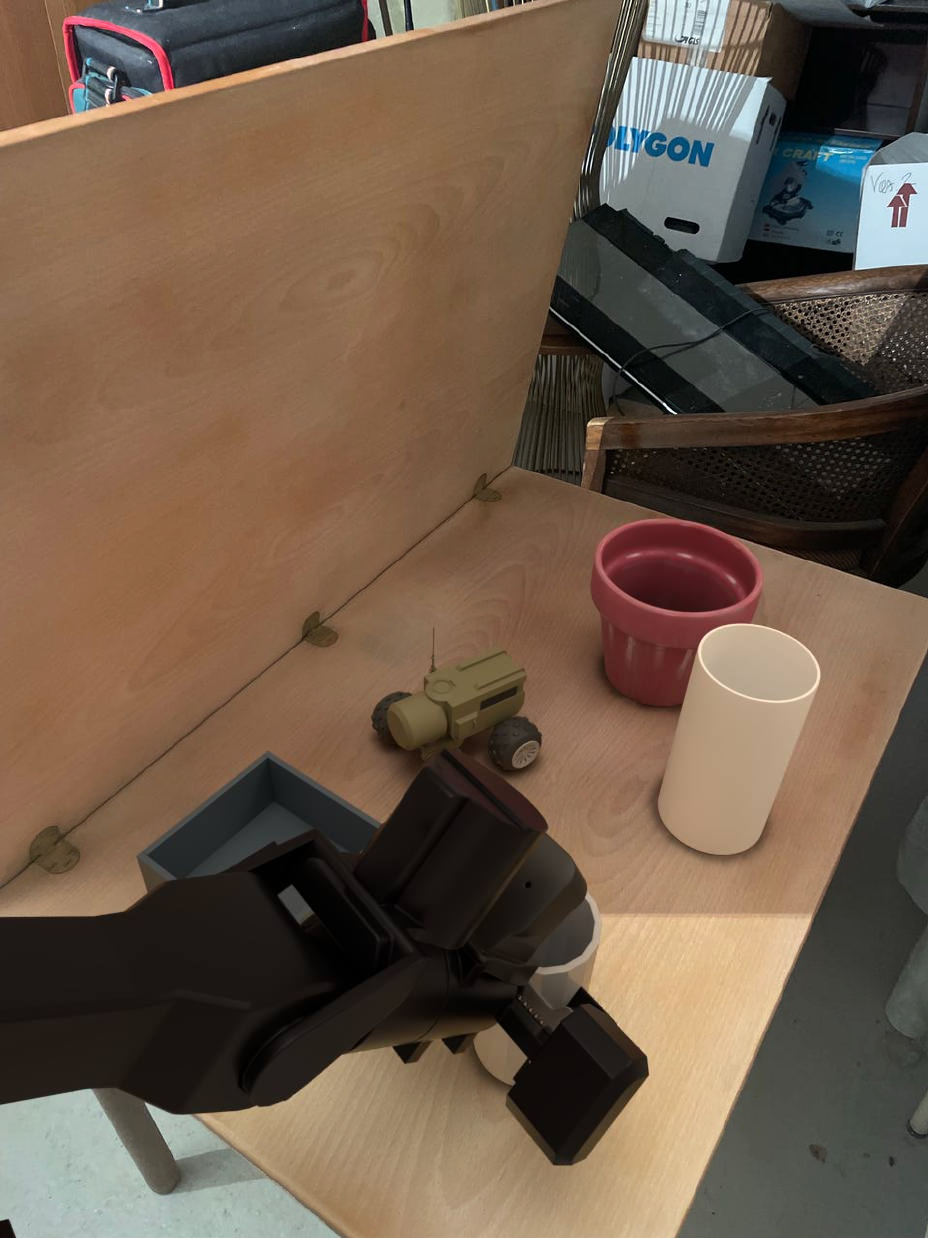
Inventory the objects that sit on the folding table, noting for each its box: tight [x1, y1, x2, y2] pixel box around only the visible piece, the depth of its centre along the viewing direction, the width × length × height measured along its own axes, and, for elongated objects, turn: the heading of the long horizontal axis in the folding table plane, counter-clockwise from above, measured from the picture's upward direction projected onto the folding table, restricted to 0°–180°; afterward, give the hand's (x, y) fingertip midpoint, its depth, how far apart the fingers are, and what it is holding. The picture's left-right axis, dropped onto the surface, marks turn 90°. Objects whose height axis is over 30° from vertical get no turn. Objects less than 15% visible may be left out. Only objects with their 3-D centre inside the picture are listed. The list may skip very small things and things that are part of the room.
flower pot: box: [590, 518, 764, 707], centre depth 80 cm, size 14×14×13 cm
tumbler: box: [472, 891, 603, 1087], centre depth 53 cm, size 6×6×13 cm
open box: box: [136, 750, 382, 925], centre depth 63 cm, size 12×12×6 cm
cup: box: [657, 623, 821, 856], centre depth 66 cm, size 8×8×16 cm
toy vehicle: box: [370, 626, 543, 773], centre depth 72 cm, size 10×11×12 cm
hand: (549, 967), depth 53 cm, fingers open, 7 cm apart
